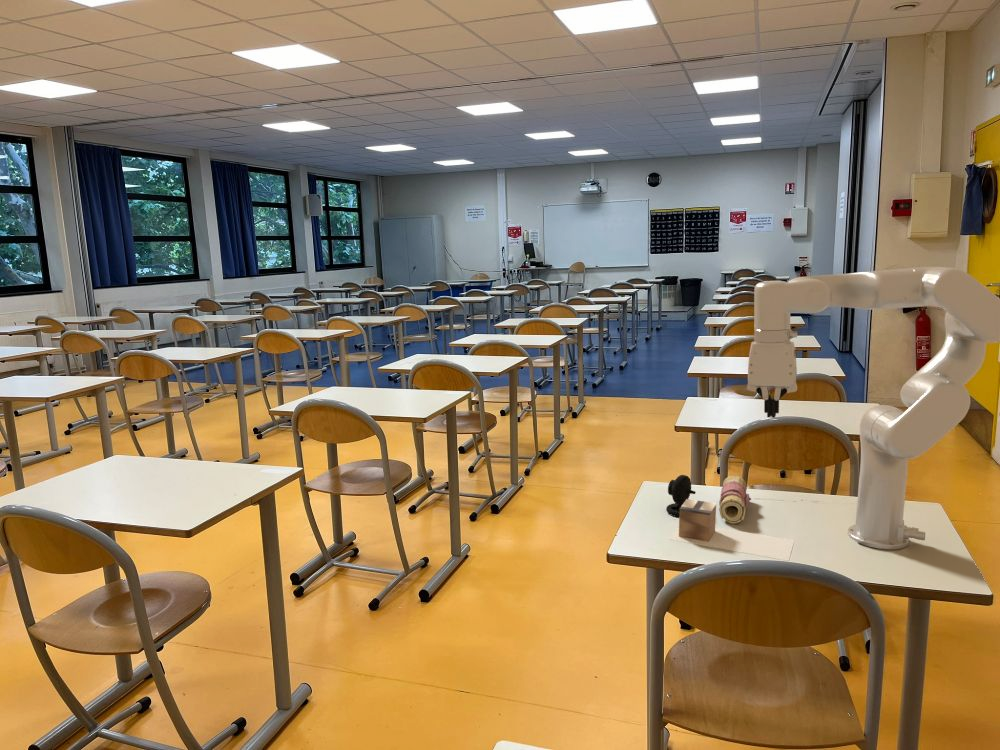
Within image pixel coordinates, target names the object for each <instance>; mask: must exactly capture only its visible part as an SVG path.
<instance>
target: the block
mask: <svg viewBox="0 0 1000 750" xmlns="http://www.w3.org/2000/svg"><path fill="white" fill-rule="evenodd" d="M679 511H680V513H679V517H678V519H679V520H678V527H679V537H684V538H690V539H695V540H701V541H707V542H709V541H710V539H711V537H712V536H713V534H714V532H715V527H716V520H717V503H715V502H709V501H704V500H695V499H691V498H688V499H686V501H685V502H684V503H683V505H682V506H681V507H680V509H679Z"/></svg>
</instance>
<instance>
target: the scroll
mask: <svg viewBox="0 0 1000 750" xmlns="http://www.w3.org/2000/svg"><path fill="white" fill-rule="evenodd" d="M747 488H748V487H747V482H746V481H745V480H744V479H743V478H742V477H741V476H739V475H735V476H734V475H729V476H728V477H726V478H725V479H724V480H723V484H722V487H721V491H720V499H719V502H718V503H719V509H718V510H719V514H720V518H721V519H724V520H725V522H727V523H729V524H731V525H733V524H738V523H740V522H742V521H744V519H745V515H746V512H747V511H746V509H747V507H748V506H749V504H750V501H752V498H751V496H750V494H749V493H747Z"/></svg>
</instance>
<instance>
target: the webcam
mask: <svg viewBox="0 0 1000 750" xmlns="http://www.w3.org/2000/svg"><path fill="white" fill-rule="evenodd" d="M667 493H668V495H669V496H672V501H673V502H674V503H670V504H668V505H667V506H666V509H665V511H666V512H667V514H669V515H671V516H674V517H678V518H679V513H680V507H681V506H682V505H683V503H684V502H685V501H686V499H690V495H696V493H697V492H696V491H695V490H692V481H691V478H690V477H689V476H688V475H685V474H680V475H679V476H677V477H676V479H671V480H670V482H669V483H668V487H667ZM675 508H676V509H679V510H676V509H675Z"/></svg>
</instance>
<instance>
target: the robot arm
mask: <svg viewBox="0 0 1000 750" xmlns="http://www.w3.org/2000/svg"><path fill="white" fill-rule="evenodd" d="M753 292H754V293H753V294H754V296H753V298H754V299H753V301H754V306H753V307H754V308H753V309H754V310H753V311H754V313H753V315H754V316H753V317H754V318H753V319H754V320H753V323H754V324H753V325H754V329H753V331H754V332H753V335H754V336H753V338H754V340H753V341H751V344H750V349H749V353H748V362H747V363H748V364H747V386H746V390H748V391H750V392H754V393H757V394H758V395H759V396H760V397H762V399H763V400H764V406H763V407H764V409H763V410H764V413H765V414H766V416H767V417H766V418H771V419H772V418H776V416H777V414H779V412H780V399H782V397H784V396H785V395H786V394H790V393H795V392H797V391H798V385H797V379H798V377H797V371H798V370H797V369H798V368H797V355H796V347H795V343H794V341H791V340H792V339H793V338H798V331H794V330H792V329H791V313H797V314H817V313H821V312H823V311H824V310H825V309H827V308H851V309H858V310H871V311H872V310H874V311H875V310H876V311H877V310H878V311H879V310H880V311H881V310H891V309H904V308H906V309H907V308H919V307H934V308H935V307H936V308H942V310H944V312H945V314H944V328H945V339H944V343H943V344H942V347H941V348H940V350H939V351H937V353H936V354H935V355H934V356H933V357H932V358H931V359H930V360H929V361H928V362H927V363H925V365H924V366H922V367H921V368H920V369H919V370H918V371H917V372H916V373H915V374H913V375H912V376H911V377H910V378H909V379H908V380H907V381H906V382H905V383H904V384H903V386H902V388H901V389H900V391H899V392H900V393H899V395H900V400H901V402H902V403H903V405H904V406H905V407H907V409H905V411H904V410H902V409H900V408H898V407H896V406H894V405H888V404H879V405H875V406H873V407H871V408H869V409H868V410H866V411H865V413H863V415H862V417H861V420H860V423H859V439H860V467H859V476H858V477H859V479H858V489H857V491H858V492H857V500H856V501H857V503H856V517H855V524H853V525H851V526H849V527H848V529H847V536H848V537H849V538H850V539H851V540H853V541H855V542H857V544H860V545H863V546H865V547H870V548H874V549H879V550H900V549H904V548H906V547H908V546H909V542H910V539H915V540H919V541H926V531H921V530H920V531H919V527H918V528H917V527H911V526H909V527H908V526H907V525H906V524H905V521H904V512H905V511H904V510H905V501H906V500H905V499H906V489H907V482H908V481H907V478H908V472H909V471H908V470H909V469H908V468H909V462H908V460H912V459H916V458H918V457H920V456H922V455H923V454H925V453H926V452H928V451H929V450H930V449H932V448H933V446H935V445H936V444H937V443H939V441H940V440H942V439H943V438H945V436H946V435H947V434H948V433H950V432H951V431H952V430H953V429H954V428H955V427H956V426H958V424H959V423H961V422H962V420H963V419H964V418H965V417H966V415H967V414H968V411H969V410H970V406H971V396H970V392H969V391H968V389H967V388H966V386H965V385H967V383H968V382H970V380H971V379H972V378H974V377H975V375H976V374H977V373H978V371H979V370H980V369H982V368H981V367H982V366H983V363H984V361H985V357H986V350H987V343H988V344H996V343H1000V297H999V296H997V295H996V294H995V293H993V291H991V290H989V288H987V287H986V286H985V285H984V284H982V283H981V282H980V281H978V280H977V278H975V277H973V276H972V275H970V274H969V273H967V272H966V271H965V270H962V269H960V268H956V267H944V266H921V267H910V268H909V267H908V268H907V267H906V268H895V269H885V270H884V269H883V270H869V271H860V272H859V271H857V272H849V273H836V274H821V275H809V276H808V275H806V276H798V277H794V278H792V279H790V280H788V282H787V281H784V280H769V281H768V280H767V281H759V282H757V284H756V285H755V286H754V291H753ZM769 388H774V395H773V396H772V395H770V394H771V393H770V389H769Z"/></svg>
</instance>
